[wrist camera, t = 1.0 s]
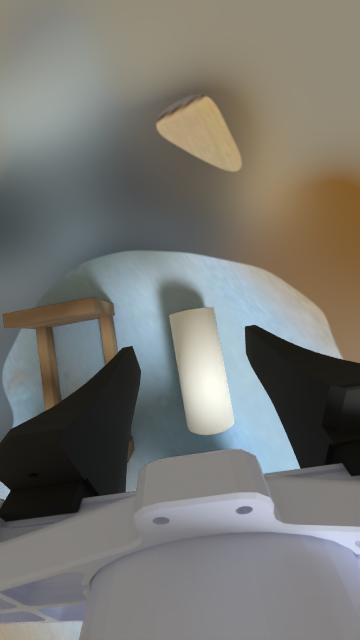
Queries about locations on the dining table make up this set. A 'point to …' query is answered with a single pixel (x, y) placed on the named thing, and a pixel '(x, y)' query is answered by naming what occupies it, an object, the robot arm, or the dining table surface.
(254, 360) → the robot arm
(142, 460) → the dining table surface
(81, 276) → the dining table surface
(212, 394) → the cylinder
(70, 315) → the holder
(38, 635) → the dining table surface
